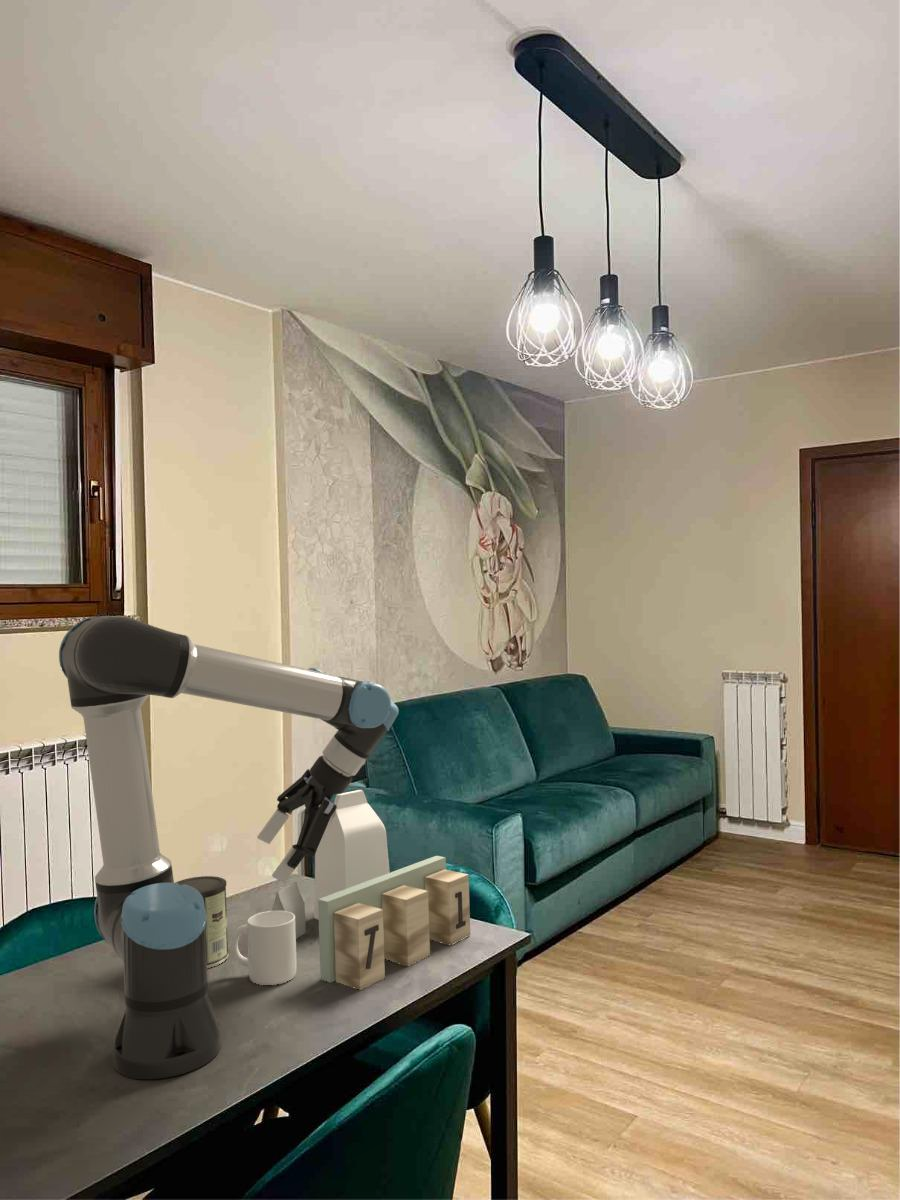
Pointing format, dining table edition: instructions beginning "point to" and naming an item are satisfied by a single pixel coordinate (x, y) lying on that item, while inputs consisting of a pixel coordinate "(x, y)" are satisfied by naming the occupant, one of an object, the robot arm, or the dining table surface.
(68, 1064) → the dining table surface
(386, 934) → the plain block
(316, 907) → the milk
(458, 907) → the numbered block 1
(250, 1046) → the dining table surface
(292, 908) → the white juice carton
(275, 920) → the mug
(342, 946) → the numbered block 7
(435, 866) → the rack board
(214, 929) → the coffee can
